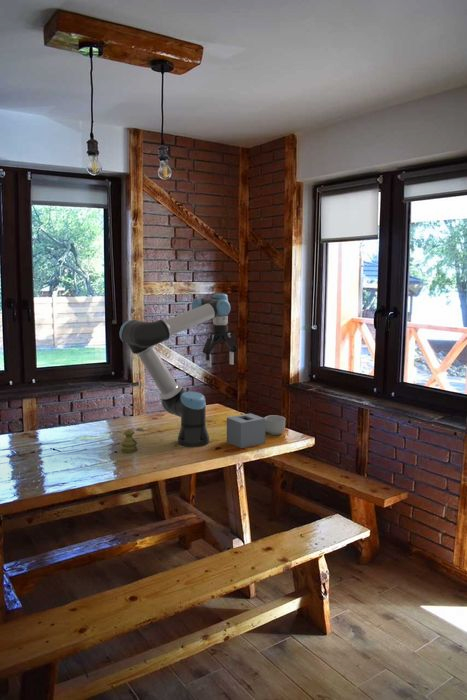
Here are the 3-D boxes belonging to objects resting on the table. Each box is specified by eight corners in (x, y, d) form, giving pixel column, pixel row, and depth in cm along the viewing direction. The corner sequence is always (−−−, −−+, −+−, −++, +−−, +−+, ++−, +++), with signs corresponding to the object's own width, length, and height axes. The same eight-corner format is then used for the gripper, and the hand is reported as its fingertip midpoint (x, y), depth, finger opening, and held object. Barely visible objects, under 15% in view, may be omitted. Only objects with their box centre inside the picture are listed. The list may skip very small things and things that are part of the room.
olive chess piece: (119, 449, 266) (119, 428, 264) (135, 447, 268) (135, 426, 267) (122, 454, 259) (122, 432, 257) (139, 452, 261) (138, 431, 260)
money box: (240, 448, 268) (241, 423, 266) (226, 441, 278) (226, 417, 276) (265, 443, 275) (265, 418, 274) (250, 437, 285) (250, 413, 284)
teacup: (285, 430, 297) (285, 415, 296) (285, 436, 286) (285, 421, 285) (258, 429, 298) (258, 414, 297) (257, 435, 287) (257, 420, 286)
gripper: (203, 326, 285) (203, 368, 288) (244, 323, 299) (244, 364, 302) (195, 325, 291) (195, 366, 294) (236, 322, 305) (236, 362, 308)
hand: (220, 365), depth 298 cm, fingers open, 13 cm apart
